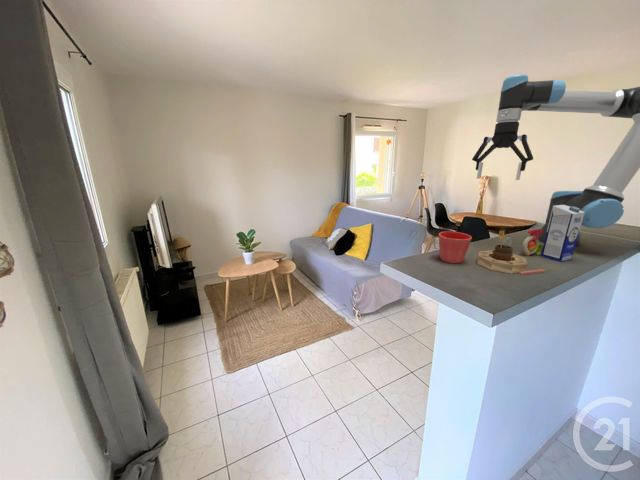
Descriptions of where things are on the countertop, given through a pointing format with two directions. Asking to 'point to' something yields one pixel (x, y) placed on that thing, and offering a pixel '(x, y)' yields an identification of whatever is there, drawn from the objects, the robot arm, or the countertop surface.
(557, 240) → the milk carton
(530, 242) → the bird rattle
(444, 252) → the flower pot
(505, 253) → the utensil holder
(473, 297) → the countertop surface
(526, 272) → the pink stick
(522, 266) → the octagonal ring
